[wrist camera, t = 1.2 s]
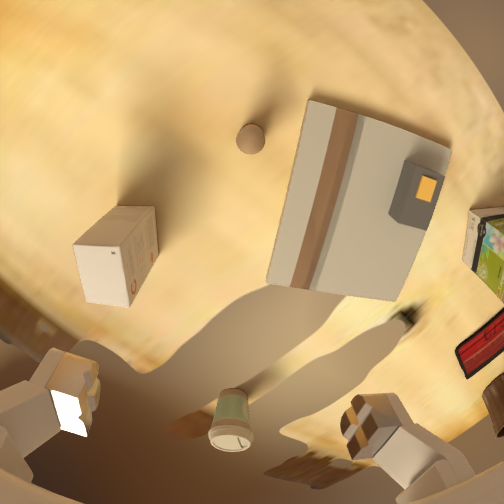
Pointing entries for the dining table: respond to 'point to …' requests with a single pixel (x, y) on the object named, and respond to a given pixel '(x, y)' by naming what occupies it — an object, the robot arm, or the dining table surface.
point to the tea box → (486, 247)
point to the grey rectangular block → (416, 195)
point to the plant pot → (496, 404)
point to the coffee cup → (231, 422)
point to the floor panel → (349, 206)
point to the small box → (117, 255)
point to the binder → (482, 346)
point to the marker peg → (250, 139)
